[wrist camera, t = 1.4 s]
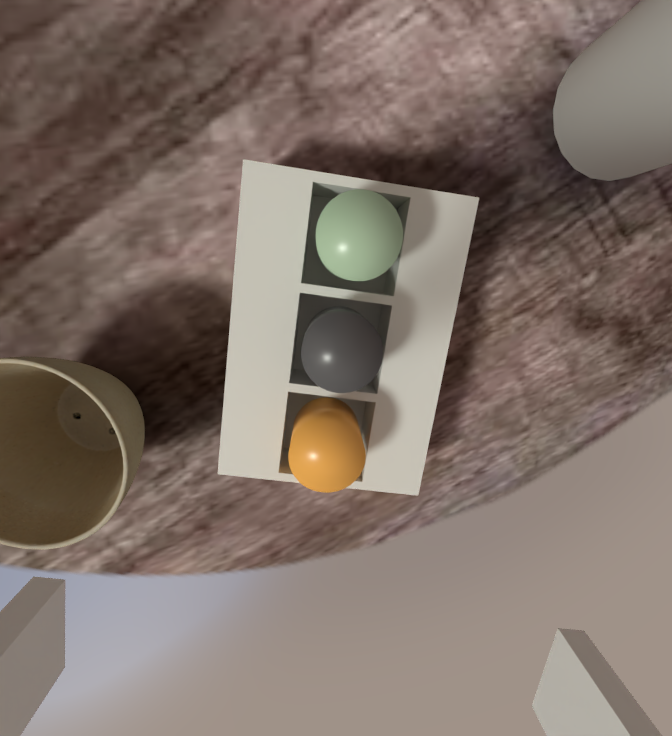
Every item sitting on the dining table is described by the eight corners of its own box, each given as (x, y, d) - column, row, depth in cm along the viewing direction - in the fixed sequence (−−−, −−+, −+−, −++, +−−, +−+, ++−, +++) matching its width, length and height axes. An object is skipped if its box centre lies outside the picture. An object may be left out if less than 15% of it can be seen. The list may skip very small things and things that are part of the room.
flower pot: (190, 357, 26) (141, 387, 19) (165, 493, 28) (113, 566, 21) (29, 318, 25) (-85, 335, 18) (15, 462, 27) (-91, 528, 20)
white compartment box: (255, 178, 23) (243, 159, 20) (453, 210, 24) (479, 197, 20) (232, 445, 27) (217, 474, 23) (404, 464, 28) (418, 495, 24)
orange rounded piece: (297, 393, 24) (292, 416, 20) (363, 401, 24) (371, 425, 20) (289, 454, 25) (284, 488, 21) (353, 461, 25) (359, 496, 21)
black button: (308, 301, 23) (306, 306, 19) (377, 311, 23) (389, 318, 19) (300, 369, 24) (296, 387, 20) (366, 377, 24) (376, 397, 20)
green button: (321, 199, 21) (321, 182, 18) (394, 210, 22) (410, 196, 18) (312, 274, 22) (310, 274, 18) (381, 284, 23) (394, 286, 19)
